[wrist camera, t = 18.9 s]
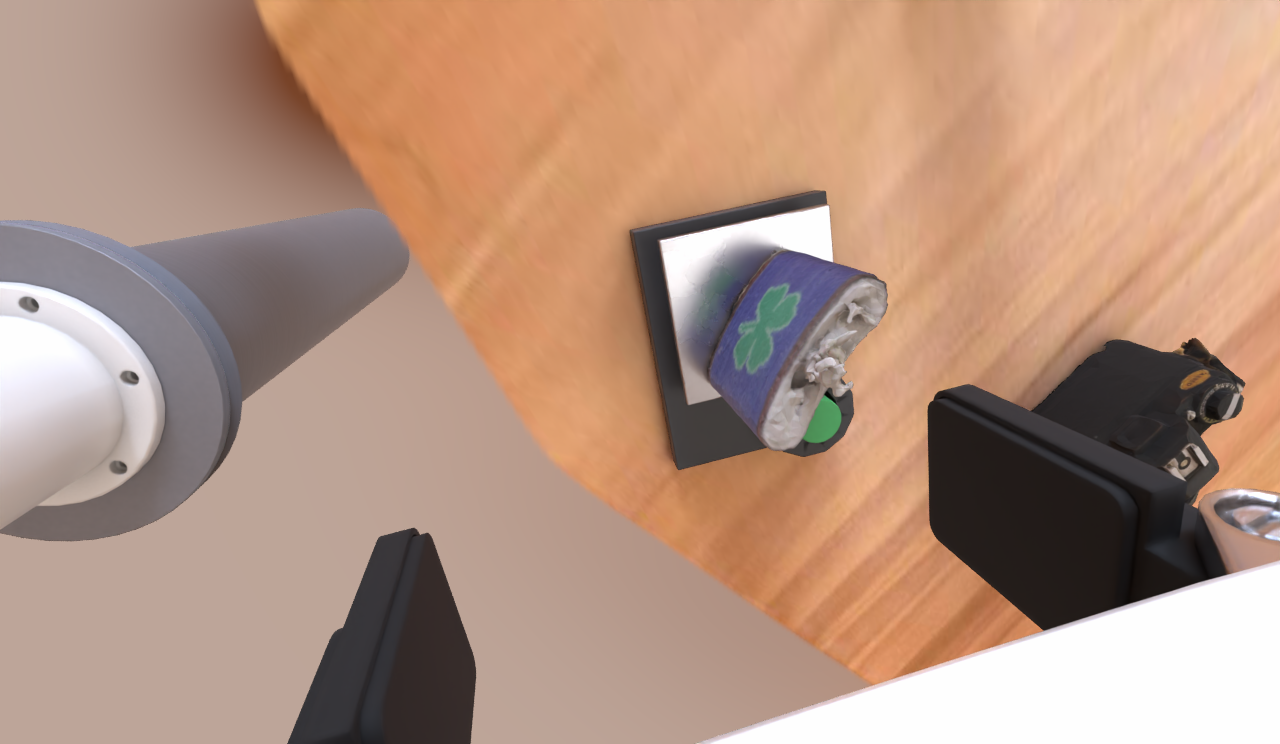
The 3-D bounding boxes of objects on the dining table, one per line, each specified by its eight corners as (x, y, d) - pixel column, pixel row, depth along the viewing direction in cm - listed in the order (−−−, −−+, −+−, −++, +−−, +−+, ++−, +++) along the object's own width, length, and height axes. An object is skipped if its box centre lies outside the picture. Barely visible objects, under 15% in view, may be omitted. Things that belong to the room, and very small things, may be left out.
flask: (732, 396, 36) (808, 479, 26) (692, 376, 35) (754, 454, 25) (813, 261, 35) (927, 295, 25) (772, 237, 34) (874, 261, 24)
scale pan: (684, 401, 37) (687, 406, 36) (656, 239, 33) (658, 241, 33) (836, 364, 38) (842, 368, 37) (823, 203, 34) (829, 204, 34)
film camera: (1061, 547, 50) (1182, 632, 41) (949, 504, 47) (1054, 586, 37) (1191, 357, 46) (1358, 403, 37) (1080, 296, 43) (1232, 329, 33)
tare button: (789, 438, 39) (799, 448, 38) (784, 397, 38) (794, 405, 37) (832, 427, 40) (843, 437, 38) (828, 386, 39) (840, 394, 37)
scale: (674, 467, 42) (684, 488, 39) (629, 229, 36) (637, 234, 33) (835, 426, 43) (857, 443, 40) (815, 190, 37) (839, 191, 34)
